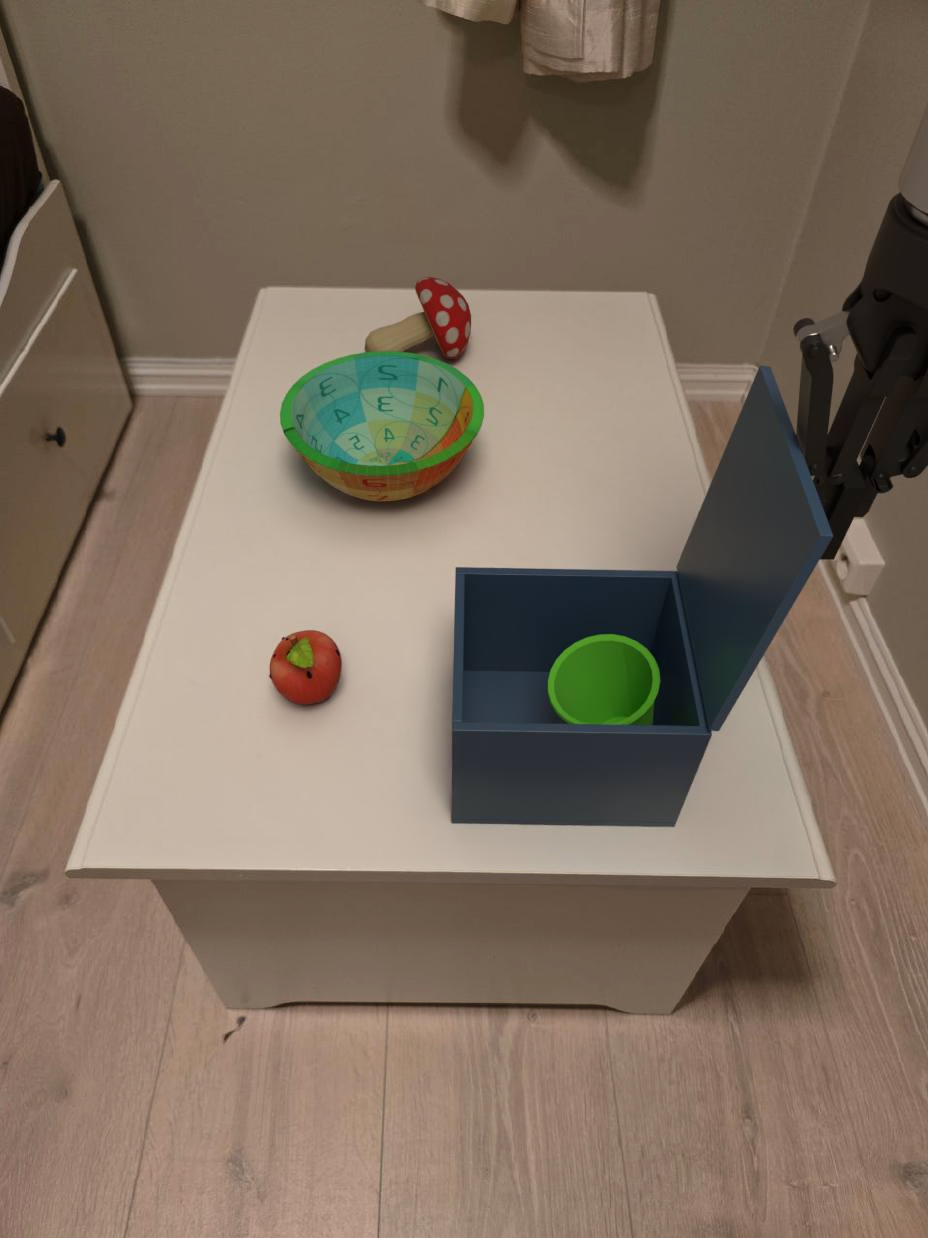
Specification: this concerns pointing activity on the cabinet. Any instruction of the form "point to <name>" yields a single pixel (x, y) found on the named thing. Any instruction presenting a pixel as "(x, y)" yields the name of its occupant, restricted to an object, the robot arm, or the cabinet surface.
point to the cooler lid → (749, 548)
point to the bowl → (382, 422)
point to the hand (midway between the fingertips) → (818, 545)
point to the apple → (306, 667)
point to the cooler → (530, 727)
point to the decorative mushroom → (428, 322)
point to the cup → (604, 682)
